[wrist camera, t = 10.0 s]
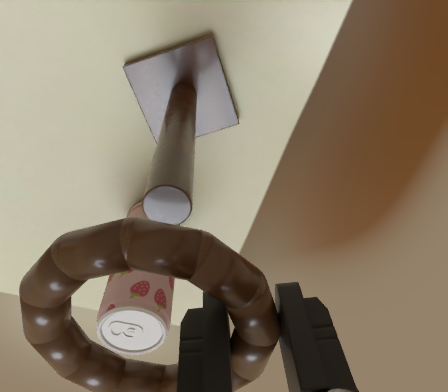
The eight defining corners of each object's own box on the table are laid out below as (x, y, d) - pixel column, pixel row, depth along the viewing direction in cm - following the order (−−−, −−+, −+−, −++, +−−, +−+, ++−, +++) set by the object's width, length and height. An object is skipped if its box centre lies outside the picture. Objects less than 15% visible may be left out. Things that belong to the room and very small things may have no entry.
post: (212, 33, 32) (221, 103, 16) (238, 120, 36) (267, 246, 20) (124, 64, 33) (46, 159, 16) (160, 145, 37) (126, 285, 21)
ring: (236, 181, 10) (235, 212, 9) (298, 361, 14) (303, 398, 13) (-18, 244, 11) (-48, 277, 10) (104, 389, 15) (93, 425, 14)
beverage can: (121, 201, 40) (83, 311, 27) (175, 195, 40) (162, 303, 27) (134, 243, 43) (104, 360, 30) (183, 237, 43) (175, 353, 30)
